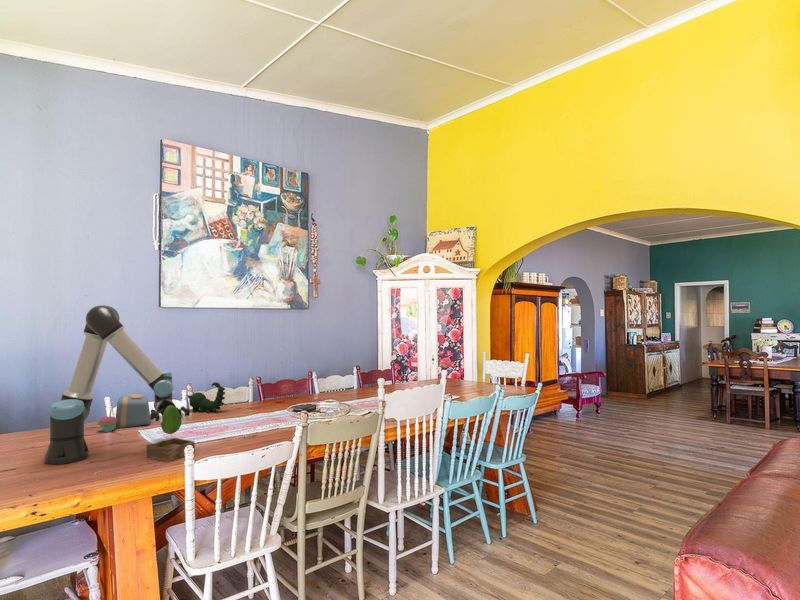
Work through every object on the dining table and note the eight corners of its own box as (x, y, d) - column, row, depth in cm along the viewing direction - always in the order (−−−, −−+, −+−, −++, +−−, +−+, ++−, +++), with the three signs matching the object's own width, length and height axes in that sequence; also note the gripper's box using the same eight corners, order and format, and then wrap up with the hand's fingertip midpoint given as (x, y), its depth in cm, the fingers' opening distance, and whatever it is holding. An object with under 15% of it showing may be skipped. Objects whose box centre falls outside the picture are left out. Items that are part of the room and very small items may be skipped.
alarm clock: (116, 423, 268) (116, 393, 268) (150, 419, 276) (150, 390, 276) (115, 429, 254) (115, 398, 254) (150, 425, 261) (150, 395, 262)
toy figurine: (226, 413, 298) (191, 407, 304) (228, 382, 297) (193, 377, 304) (216, 417, 289) (180, 411, 295) (219, 384, 288) (183, 379, 295)
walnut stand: (167, 461, 199) (167, 449, 199) (146, 457, 205) (146, 445, 205) (194, 453, 210) (194, 441, 210) (174, 449, 217) (174, 437, 217)
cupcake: (121, 428, 254) (121, 405, 255) (109, 433, 246) (110, 408, 246) (105, 428, 255) (105, 405, 255) (93, 432, 247) (93, 408, 247)
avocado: (162, 437, 202) (162, 407, 203) (159, 433, 209) (158, 404, 209) (183, 434, 207) (183, 405, 207) (179, 430, 214) (179, 402, 214)
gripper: (190, 414, 229) (199, 423, 209) (140, 419, 218) (144, 430, 199) (190, 397, 229) (199, 405, 209) (140, 402, 218) (144, 411, 199)
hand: (172, 417), depth 204 cm, fingers closed on avocado, 8 cm apart
